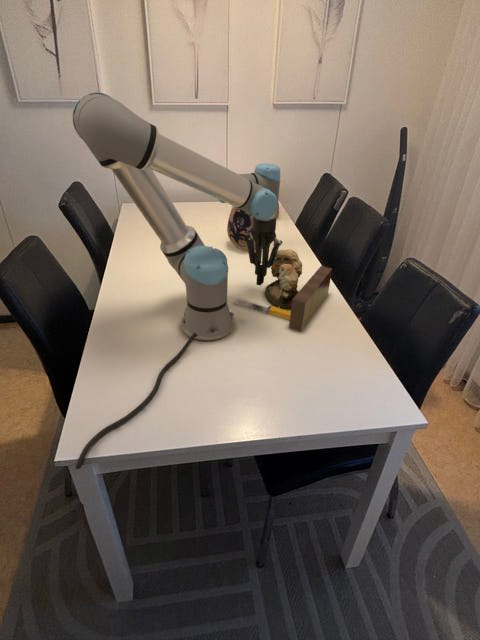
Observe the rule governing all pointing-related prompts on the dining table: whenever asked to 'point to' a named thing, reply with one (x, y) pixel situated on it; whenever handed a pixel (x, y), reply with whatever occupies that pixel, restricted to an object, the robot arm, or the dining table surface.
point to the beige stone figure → (284, 279)
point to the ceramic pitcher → (239, 227)
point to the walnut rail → (310, 298)
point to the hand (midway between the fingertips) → (260, 283)
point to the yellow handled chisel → (266, 309)
